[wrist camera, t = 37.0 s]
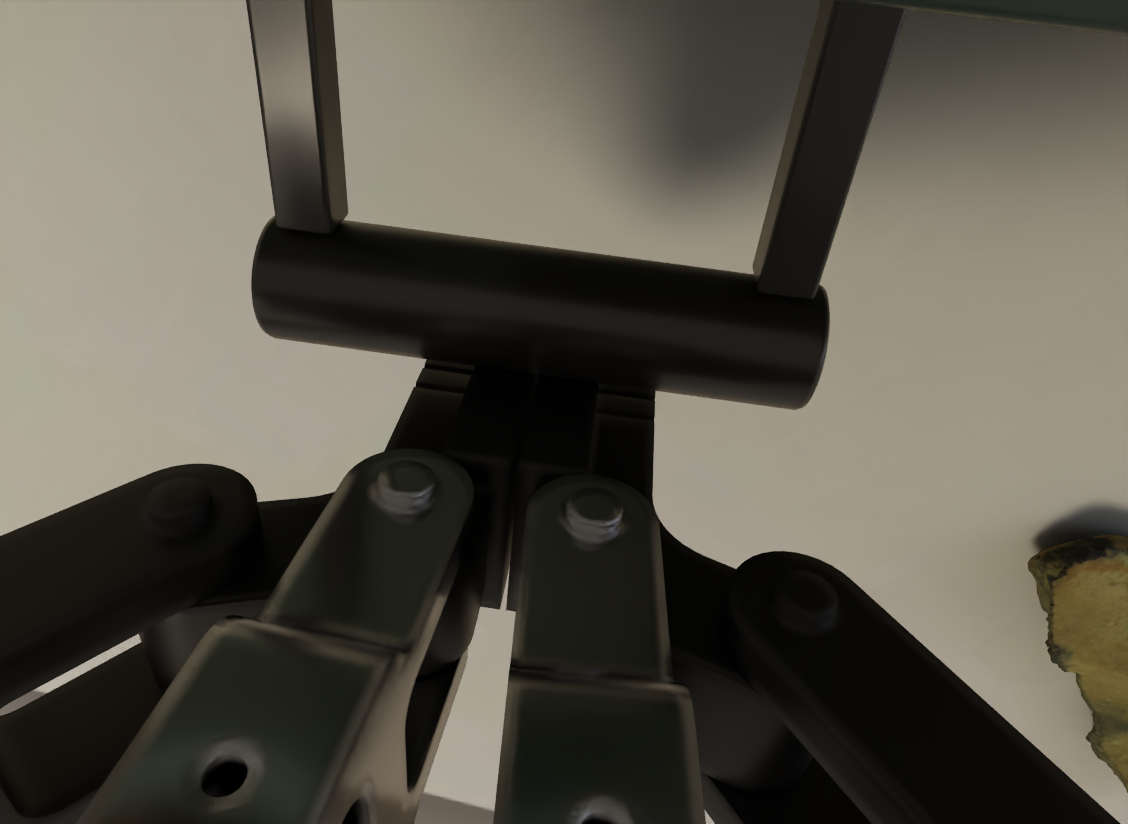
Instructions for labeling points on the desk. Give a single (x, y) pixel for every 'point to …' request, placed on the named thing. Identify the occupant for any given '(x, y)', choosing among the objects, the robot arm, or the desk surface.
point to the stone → (1091, 632)
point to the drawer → (572, 278)
